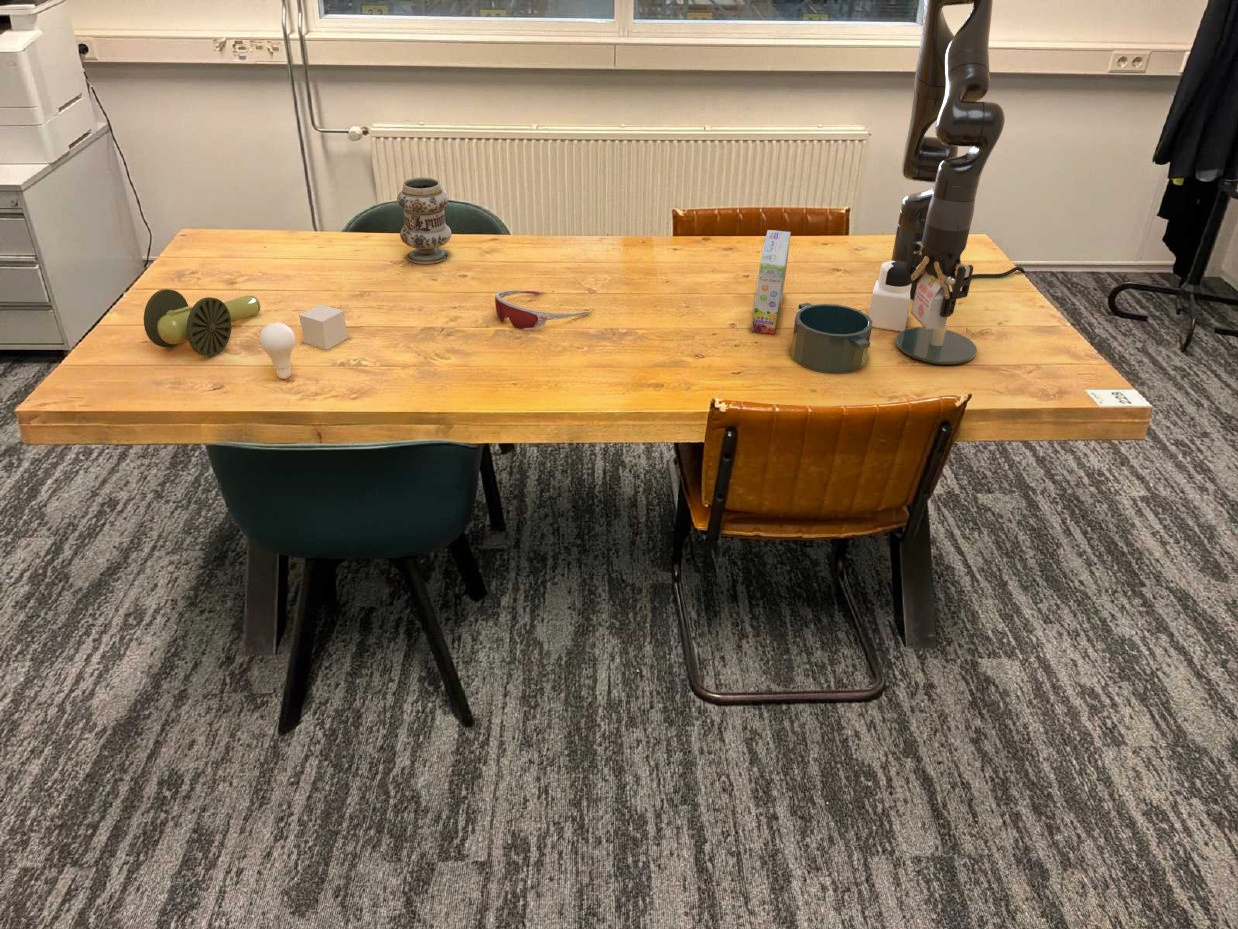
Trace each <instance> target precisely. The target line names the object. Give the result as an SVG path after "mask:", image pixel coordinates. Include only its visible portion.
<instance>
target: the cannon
mask: <svg viewBox="0 0 1238 929" xmlns="http://www.w3.org/2000/svg"><path fill="white" fill-rule="evenodd" d="M260 311H261V303H260V301H259V299H258V298H257V297H256V296H254V295H243V296H240V297H237V298H234V299H230V300H226V301H224V302H223V301H222V300H221V299H219V298H218V297H217V298H216V297H210V296H207V297H202V298H201V299H199V300H197V301H196V302H195V304H193V306H191V305H189V304H188V302H187V300H186V298H185V297H184V296H183V295H182V293H180V292H179V291H177V290H174V289H169V288H164V289H159V290H158V291H156V292H154V293H153V294H152V295H151V296H150V298H149V299H148V301H147V303H146V305H145V307H144V311H143V327H144V331H145V334H146V335H147V337H148V339H149V341H151V342H152V343H153V344H154V345H156V346H158V347H161V348H165V349H169V348H174V347H176V346H178V345H179V344H181V343H184V342H187V341H188V344H189V345H190V347H191V349H192V350H193V351H194V352H195V353H196V354H198V355H200V356H203V357H209V358H212V357H216V356H217V355H219V354H220V353H221V352H223V351H224V350H225V348H226V346H227V345H228V344H229V341H230V338H231V335H232V323H234V322H238V321H243V320H244V319H247V318H248V319H249V318H251V317H254V316H256V315H257V314H259V313H260Z"/></svg>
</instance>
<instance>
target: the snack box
mask: <svg viewBox="0 0 1238 929" xmlns="http://www.w3.org/2000/svg"><path fill="white" fill-rule="evenodd" d="M791 234H792V233H791V231H785V230H784V231H782V230H774V229H773V230H772V229H767V231H766V235H765V239H764V244H763V248H762V252H761V257H760V263H759V270H758V277H757V284H756V291H755V296H754V297H755V298H754V299H755V300H754V306H753V316H752V324H751V330H750V331H751V332H755V333H762V334H769V335H775V334H776V330H777V326H778V322H779V317H780V311H781V306H782V303H783V302H782V301H783V295H784V290H785V283H786V274H787V267H788V259H789V252H790V242H791Z"/></svg>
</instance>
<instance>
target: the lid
mask: <svg viewBox="0 0 1238 929" xmlns="http://www.w3.org/2000/svg"><path fill="white" fill-rule="evenodd" d="M895 343H896V346H897V348H898V349H899V350H900V351H901V352H902V353H903V354H905V355H907V356H909V357H911V358H913V359H915V360H918V361H922V362H926V363H931V364H938V365H959V364H963V363H967V362H970V361H971V360H973V359H974V358H975V357H976V356H977V351H978V350H977V345H976V344H975V343H974V342H973V341H972V340H971V339H970V338H968V337H967V336H964V335H963V334H960V333H958V332H955V331H952V330H948V322H946V326H945V328H935V329H926V328H925V327H924V326H920V327H919V326H918V327H912V328H907V329H905V330H904V331H902V332H899V333H898V334H897V336H896V339H895Z"/></svg>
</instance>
